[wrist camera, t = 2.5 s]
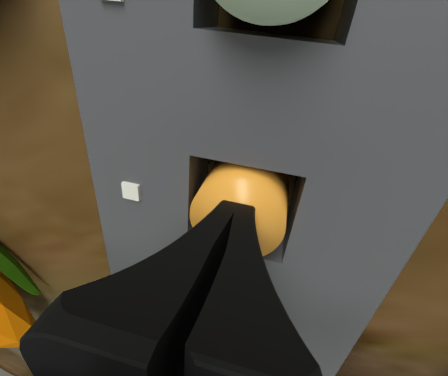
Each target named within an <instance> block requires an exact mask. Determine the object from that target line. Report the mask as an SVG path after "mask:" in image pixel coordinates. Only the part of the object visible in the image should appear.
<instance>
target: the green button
mask: <svg viewBox="0 0 448 376" xmlns="http://www.w3.org/2000/svg"><path fill="white" fill-rule="evenodd" d="M215 1H216V2H217V3H218V4H219V5H220V6H221V7H222V8H223V9H225V10H226V11H227V12H229V13H230V14H231V15H233V16H235V17H237V18H239V19H240V20H243V21H246V22H248V23H251V24H256V25H263V26H275V25H285V24H290V23H294V22H297V21H299V20H302V19H304V18H306V17H307V16H309V15H311V14H312V13H314V12H315V11H316V10H318V9H319V8H320V7H322V6H323V5H324V4H325V3H327V2H328V1H329V0H215Z"/></svg>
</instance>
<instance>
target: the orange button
mask: <svg viewBox="0 0 448 376" xmlns="http://www.w3.org/2000/svg"><path fill="white" fill-rule="evenodd" d="M288 192H289V184H288V179H287V176H286V174H285V173H280V172H274V171H269V170H264V169H259V168H253V167H248V166H243V165H238V164H232V163H227V162H222V161H217V162H216V163H215V164H214V166H213V168H212V169H211V171H210V172H209V174H208V176H207V177H206V179H205V181H204V182H203V184H202V186H201V187H200V189H199V190H198V192H197V194H196V195H195V197H194V199H193V201H192V203H191V206H190V221H191V225H192V228H193V227H194V226H195V225H196V224H197V223H199V222H200V221H201V220H202V219H203V218H204V217H206V216H207V215H208V214H209V213H210V212H211V211H212V210H213V209H214V208H215V207H216V206H217V205H218V204H219V203H220V202H221V201H222V200H227V201H232V202H236V203H241V204H246V205H251V206H254V208H255V209H256V210H255V223H256V231H257V236H258V240H259V245H260V249H261V252H262V256H265V255H267V254H269V253H271V252H272V251H274V250H275V249H276V248H277V247H278V246H279V245H280V243H281V242H282V240H283V238H284V235H285V231H286V220H287V206H288Z"/></svg>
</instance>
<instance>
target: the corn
mask: <svg viewBox="0 0 448 376" xmlns="http://www.w3.org/2000/svg"><path fill="white" fill-rule="evenodd" d="M9 278H10V279H11V280H12V281H13V282H15V283H16V284H17V285H18V286H20V287H21V288H22V289H24V290H25V291H27V292H28V293H30V294H31V295H39V294H40V291H39V289H38V288H37V286H36V285H35V283H34V282H33V280H32V279H31V278H30V276H29V275H28V274H27V272H26V271H25V270H24V269H23V267H22V266H21V265H20V263H19V262H18V261H17V260H16V259H15V258H14V257H13V256H12V255H11V254H10V253H9V252H8V251H7V250H6V249H5V248H4V247H3V246H2V245H0V348H16V347H20V346H19V344H20V338H21V337H22V336H23V335H24V334H25V333H26V332H27V330H28V329H29V328H30V327H31V326H32V325H33V324H34V322H35V320H34V318H33V316H32V314H31V313H30V311H29V309H28V307H27V306H26V304H25V302H24V300H23V299H22V297H21V296H20V294H19V293H18V291H17V290H16V288H15V287H14V285H13V284H12V282H11V281H10V279H9Z"/></svg>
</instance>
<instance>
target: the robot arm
mask: <svg viewBox="0 0 448 376" xmlns="http://www.w3.org/2000/svg"><path fill="white" fill-rule="evenodd" d="M255 210H256V209H255V208H254V206H251V205H246V204H241V203H236V202H232V201H227V200H222V201H221V202H220V203H219V204H218V205H217V206H216V207H215V208H214V209H213V210H212V211H211V212H210V213H209V214H208V215H207V216H206V217H204V218H203V219H202V220H201V221H200V222H199V223H197V224H196V225H195V226H194V227H193V228H191V229H190V230H189V231H187V232H186V233H185V234H184V235H182V236H181V237H180V238H178V239H177V240H175V241H174V242H172V243H171V244H169V245H168V246H166V247H165V248H163V249H161V250H160V251H158V252H157V253H155V254H153V255H151V256H149V257H147V258H146V259H144V260H142V261H140V262H138V263H136V264H134V265H132V266H130V267H128V268H125V269H123V270H121V271H119V272H116V273H114V274H112V275H109V276H107V277H104V278H102V279H99V280H96V281H93V282H90V283H87V284H85V285H82V286H79V287H76V288H73V289H70V290H67V291H64V292H62V293H61V294H60V295H59V296H58V297H57V298H56V299H55V300H54V301H53V302H52V303H51V304H50V305H49V307H48V308H47V309H46V310H45V311H44V312H43V313H42V314H41V316H40V317H39V318H38V319H37V320H36V321H35V322H34V324H33V325H32V326H31V327H30V328H29V329H28V330H27V332H26V333H25V334H24V335H23V336H22V337H21V338H20V344H19V346H20V351H21V354H22V356H23V358H24V360H25V361H26V363H27V365H28V367H29V368H30V370H31V372H32V374H33V375H34V376H323V375H322V372H321V368H320V366H319V364H318V363H317V361H316V360H315V358H314V357H313V355H312V354H311V352H310V351H309V349H308V348H307V346H306V344H305V343H304V341H303V340H302V338H301V337H300V335H299V333H298V332H297V330H296V328H295V327H294V325H293V323H292V321H291V320H290V318H289V316H288V314H287V312H286V310H285V308H284V306H283V304H282V302H281V300H280V299H279V297H278V295H277V292H276V290H275V288H274V286H273V283H272V281H271V278H270V276H269V273H268V271H267V268H266V265H265V262H264V259H263V256H262V252H261V249H260V245H259V240H258V236H257V231H256V223H255Z"/></svg>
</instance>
